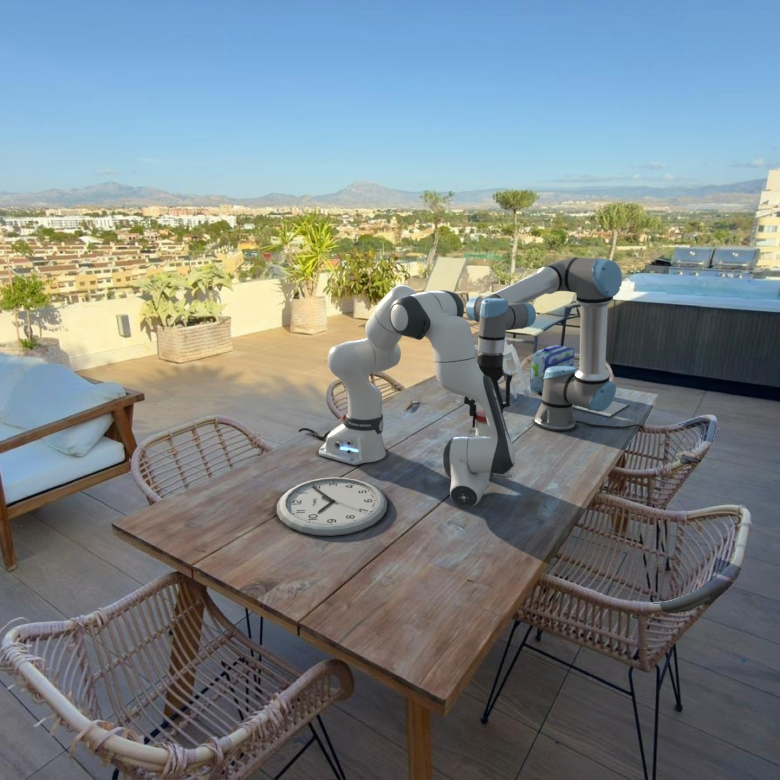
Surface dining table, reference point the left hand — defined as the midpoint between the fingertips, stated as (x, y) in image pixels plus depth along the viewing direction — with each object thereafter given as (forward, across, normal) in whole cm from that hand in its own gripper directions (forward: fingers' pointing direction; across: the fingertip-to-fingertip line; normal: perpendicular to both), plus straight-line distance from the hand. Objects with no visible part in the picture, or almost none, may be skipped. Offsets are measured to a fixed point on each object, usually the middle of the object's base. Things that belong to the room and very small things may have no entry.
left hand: (483, 453), depth 162 cm
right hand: (-1, 0, -9) cm, 9 cm away
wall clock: (-35, +35, +6) cm, 50 cm away
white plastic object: (+83, +15, +6) cm, 84 cm away
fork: (+53, +39, +6) cm, 66 cm away
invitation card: (+82, -38, +6) cm, 91 cm away
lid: (-1, 0, -13) cm, 13 cm away
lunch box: (+99, -15, +6) cm, 100 cm away
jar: (-1, 0, +6) cm, 6 cm away
